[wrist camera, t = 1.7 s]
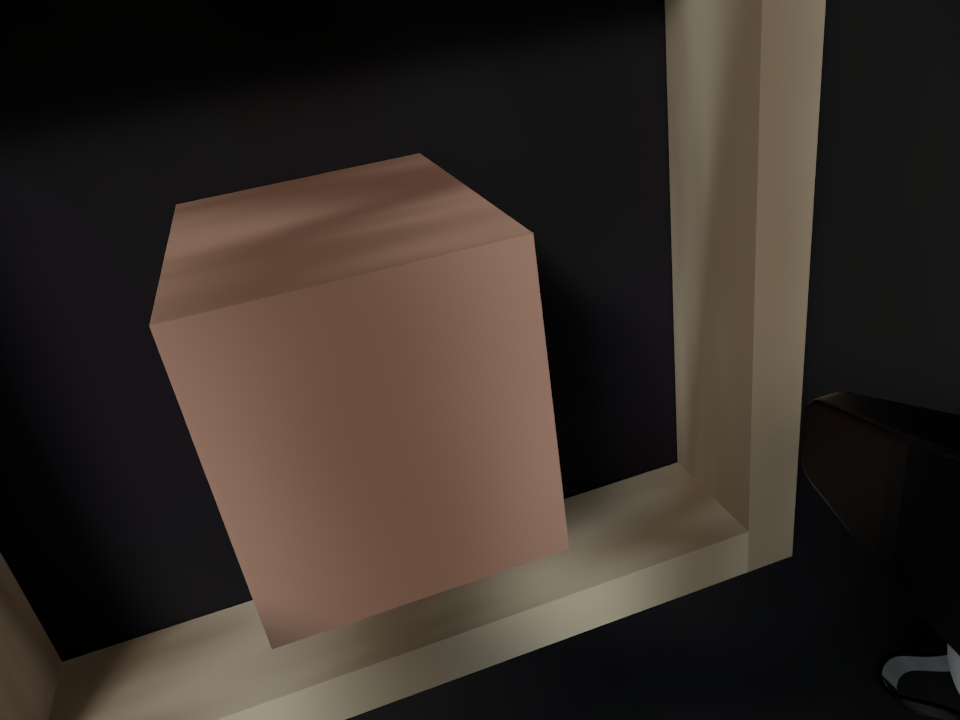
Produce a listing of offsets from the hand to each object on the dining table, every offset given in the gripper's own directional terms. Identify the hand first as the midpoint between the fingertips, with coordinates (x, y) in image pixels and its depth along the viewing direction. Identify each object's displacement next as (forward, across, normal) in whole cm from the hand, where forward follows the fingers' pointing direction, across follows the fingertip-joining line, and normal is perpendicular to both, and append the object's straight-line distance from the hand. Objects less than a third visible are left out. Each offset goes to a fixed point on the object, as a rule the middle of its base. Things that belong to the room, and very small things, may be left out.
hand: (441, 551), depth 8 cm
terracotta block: (+8, 0, 0) cm, 8 cm away
